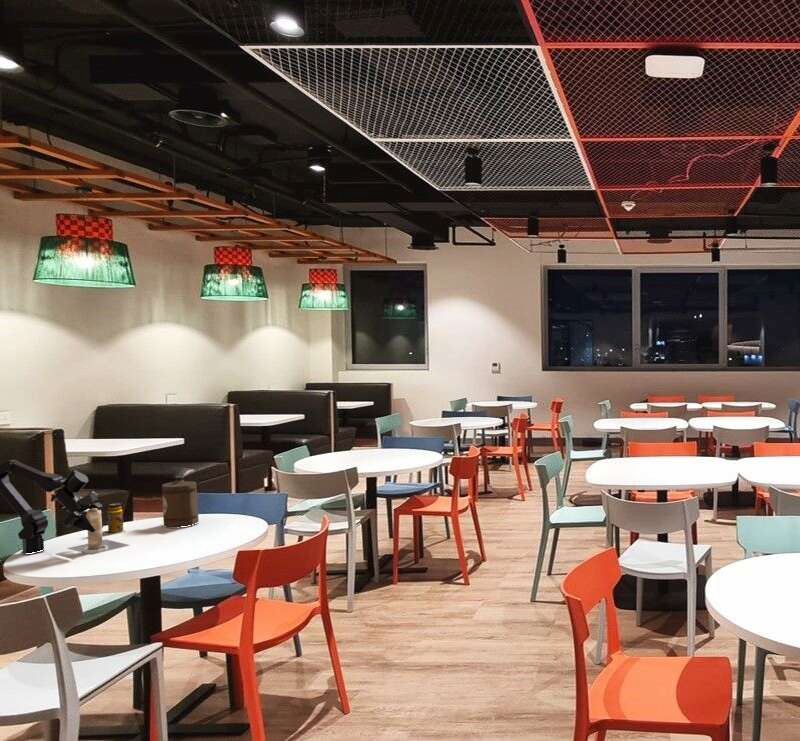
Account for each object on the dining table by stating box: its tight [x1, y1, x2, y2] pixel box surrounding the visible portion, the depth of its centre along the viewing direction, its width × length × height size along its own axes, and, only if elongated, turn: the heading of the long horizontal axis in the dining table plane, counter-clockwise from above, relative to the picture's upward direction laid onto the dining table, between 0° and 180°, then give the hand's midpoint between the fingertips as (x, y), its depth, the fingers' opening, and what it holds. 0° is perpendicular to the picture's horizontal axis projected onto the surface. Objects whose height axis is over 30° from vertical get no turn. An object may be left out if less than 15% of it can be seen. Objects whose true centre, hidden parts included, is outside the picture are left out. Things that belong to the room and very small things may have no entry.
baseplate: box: [67, 538, 130, 555], centre depth 286 cm, size 16×18×2 cm
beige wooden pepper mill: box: [87, 508, 103, 550], centre depth 280 cm, size 5×5×15 cm
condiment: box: [102, 502, 127, 536], centre depth 315 cm, size 7×8×12 cm
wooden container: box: [161, 474, 199, 528], centre depth 325 cm, size 15×15×22 cm
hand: (98, 529), depth 280 cm, fingers closed on beige wooden pepper mill, 5 cm apart
